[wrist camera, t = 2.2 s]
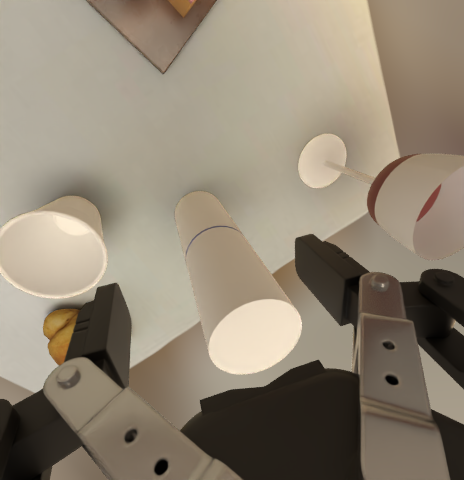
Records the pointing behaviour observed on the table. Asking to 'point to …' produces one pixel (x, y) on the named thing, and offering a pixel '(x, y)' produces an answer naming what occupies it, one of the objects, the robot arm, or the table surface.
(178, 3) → the cake
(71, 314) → the bread roll
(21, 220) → the cup
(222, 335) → the cylindrical container
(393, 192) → the wineglass
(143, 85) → the table surface
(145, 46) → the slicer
